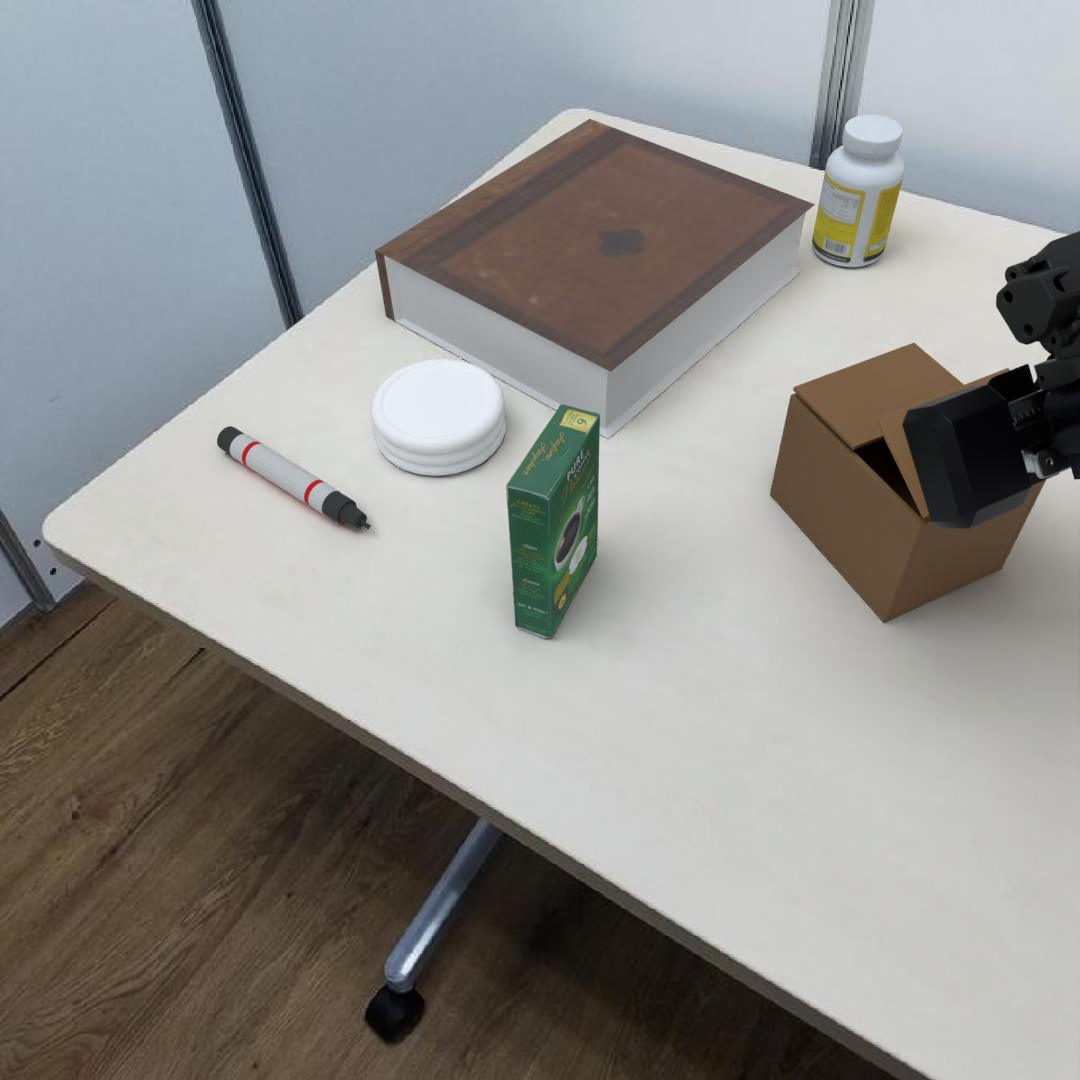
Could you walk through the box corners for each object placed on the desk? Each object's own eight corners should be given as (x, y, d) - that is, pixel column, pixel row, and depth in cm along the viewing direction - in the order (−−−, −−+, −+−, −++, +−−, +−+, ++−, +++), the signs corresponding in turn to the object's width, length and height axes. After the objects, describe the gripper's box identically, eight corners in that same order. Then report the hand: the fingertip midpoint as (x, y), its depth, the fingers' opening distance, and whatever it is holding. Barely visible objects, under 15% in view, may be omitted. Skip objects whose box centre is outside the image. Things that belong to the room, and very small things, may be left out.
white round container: (350, 453, 77) (342, 419, 74) (420, 376, 82) (415, 341, 80) (464, 496, 73) (460, 461, 71) (529, 412, 79) (527, 377, 76)
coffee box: (562, 541, 70) (559, 397, 60) (600, 553, 69) (604, 410, 60) (511, 627, 66) (500, 487, 56) (552, 642, 65) (547, 502, 55)
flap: (1052, 462, 60) (1055, 461, 60) (922, 518, 58) (925, 517, 57) (1005, 369, 61) (1008, 367, 61) (875, 420, 58) (877, 418, 58)
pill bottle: (887, 236, 94) (919, 114, 85) (878, 276, 90) (911, 152, 81) (816, 225, 95) (840, 104, 86) (804, 263, 91) (828, 141, 82)
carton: (1001, 568, 68) (1056, 461, 60) (883, 622, 65) (924, 517, 57) (879, 450, 75) (914, 341, 68) (769, 494, 73) (792, 386, 65)
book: (386, 316, 88) (374, 250, 83) (589, 182, 101) (589, 118, 96) (608, 439, 77) (610, 371, 72) (802, 270, 90) (815, 204, 85)
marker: (220, 454, 77) (213, 435, 75) (240, 440, 78) (233, 420, 76) (364, 546, 70) (359, 527, 69) (384, 529, 71) (379, 510, 70)
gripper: (1313, 160, 46) (1047, 249, 61) (992, 274, 41) (788, 341, 56) (1371, 395, 47) (1096, 425, 62) (1066, 534, 42) (847, 531, 57)
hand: (962, 426), depth 59 cm, fingers closed
